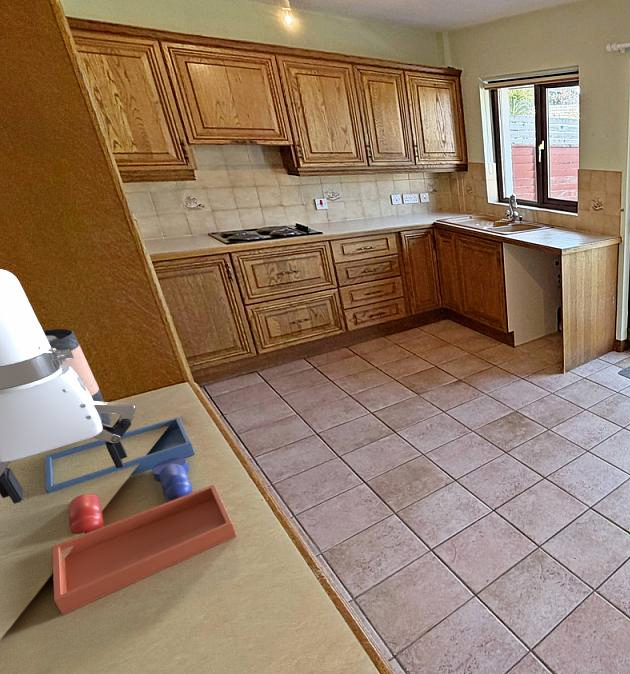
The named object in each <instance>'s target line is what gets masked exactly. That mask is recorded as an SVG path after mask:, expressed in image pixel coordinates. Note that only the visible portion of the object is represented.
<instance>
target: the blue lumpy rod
mask: <svg viewBox="0 0 630 674" xmlns="http://www.w3.org/2000/svg"><path fill="white" fill-rule="evenodd" d="M189 470H190V466H189V464H188V460H187V459H186V458H171V459H168V460H165V461H163V462H161V463H159V464H157V465H156V466H155V467H154V468H153V469H151V473H152V476H153V478H154V481H156V482H157V483H158V482H159V483H160V485H161V488H162V491H163V494H164V497H165V499H166V500H168V502H169V501H172V500H175V499H177V498H180V497H182V496H185V495H188V494H190V493H193V486H192V484H191V481H190V479H189V476H188V474H187V473H188V472H189Z"/></svg>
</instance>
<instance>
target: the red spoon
mask: <svg viewBox="0 0 630 674" xmlns="http://www.w3.org/2000/svg"><path fill="white" fill-rule="evenodd" d="M67 510H68V522H69V531H70V533H71V534H72V535H73V534H74V535H78V534H86V533H88V532H91V531H94V530H96V529H99V528H101V527H104V517H103V511H102V508H101V501H100V498H99V496H97V495H95V494H93V493H84V494H80V495H78V496H76V497H74V498H72V500H71V501H70V503H69V504H68V509H67Z"/></svg>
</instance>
